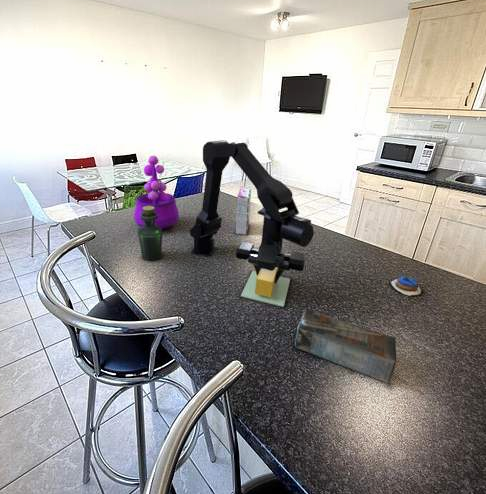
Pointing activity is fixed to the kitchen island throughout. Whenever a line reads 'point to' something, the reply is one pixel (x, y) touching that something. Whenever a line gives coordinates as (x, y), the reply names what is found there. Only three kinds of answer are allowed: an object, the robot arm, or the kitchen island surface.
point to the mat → (277, 294)
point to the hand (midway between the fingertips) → (267, 281)
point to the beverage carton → (347, 345)
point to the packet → (265, 282)
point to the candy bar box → (243, 211)
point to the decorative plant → (156, 198)
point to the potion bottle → (150, 235)
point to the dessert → (406, 285)
